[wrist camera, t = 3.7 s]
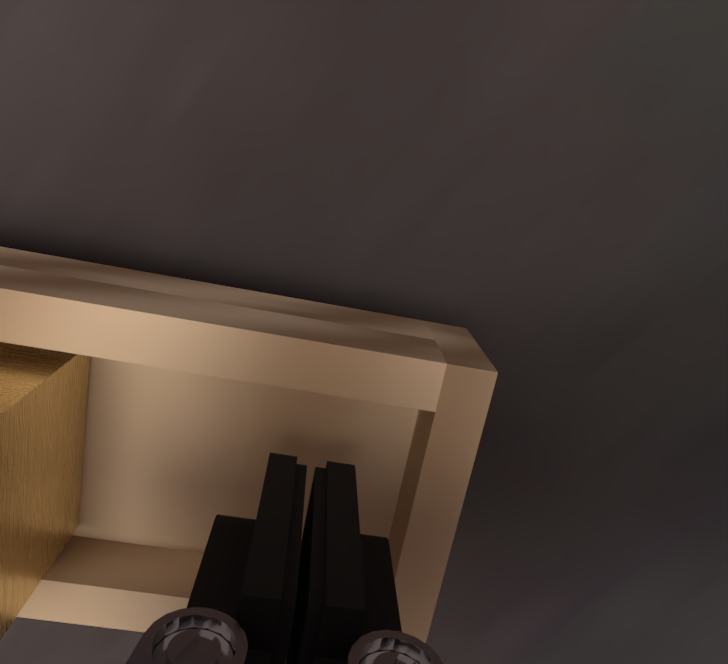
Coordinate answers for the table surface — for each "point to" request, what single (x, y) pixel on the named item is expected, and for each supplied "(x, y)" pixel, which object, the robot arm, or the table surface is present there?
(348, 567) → the robot arm
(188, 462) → the beam
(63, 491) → the rider
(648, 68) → the table surface
